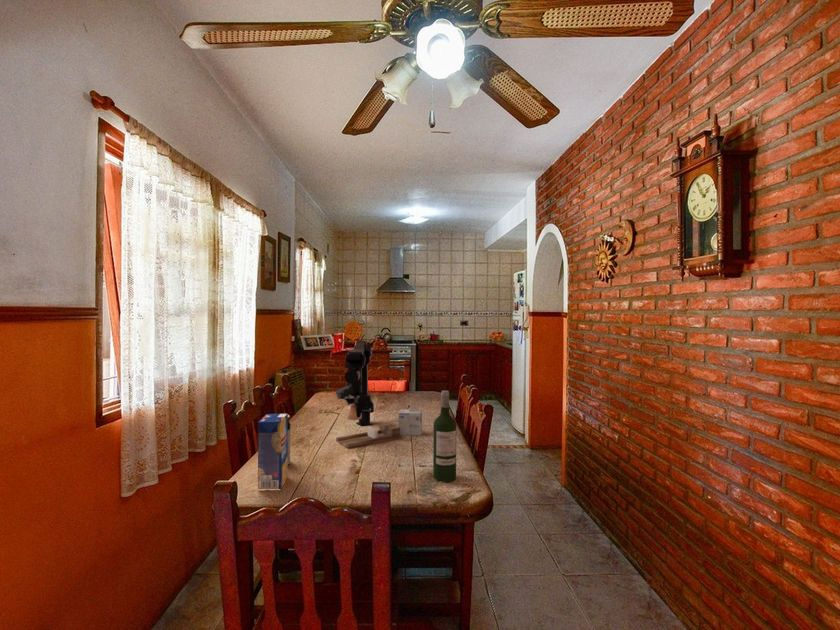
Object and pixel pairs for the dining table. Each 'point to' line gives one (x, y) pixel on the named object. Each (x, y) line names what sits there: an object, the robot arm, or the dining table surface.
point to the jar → (353, 412)
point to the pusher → (372, 432)
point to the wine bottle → (444, 443)
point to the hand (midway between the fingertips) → (355, 415)
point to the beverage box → (272, 451)
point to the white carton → (410, 422)
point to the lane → (361, 439)
